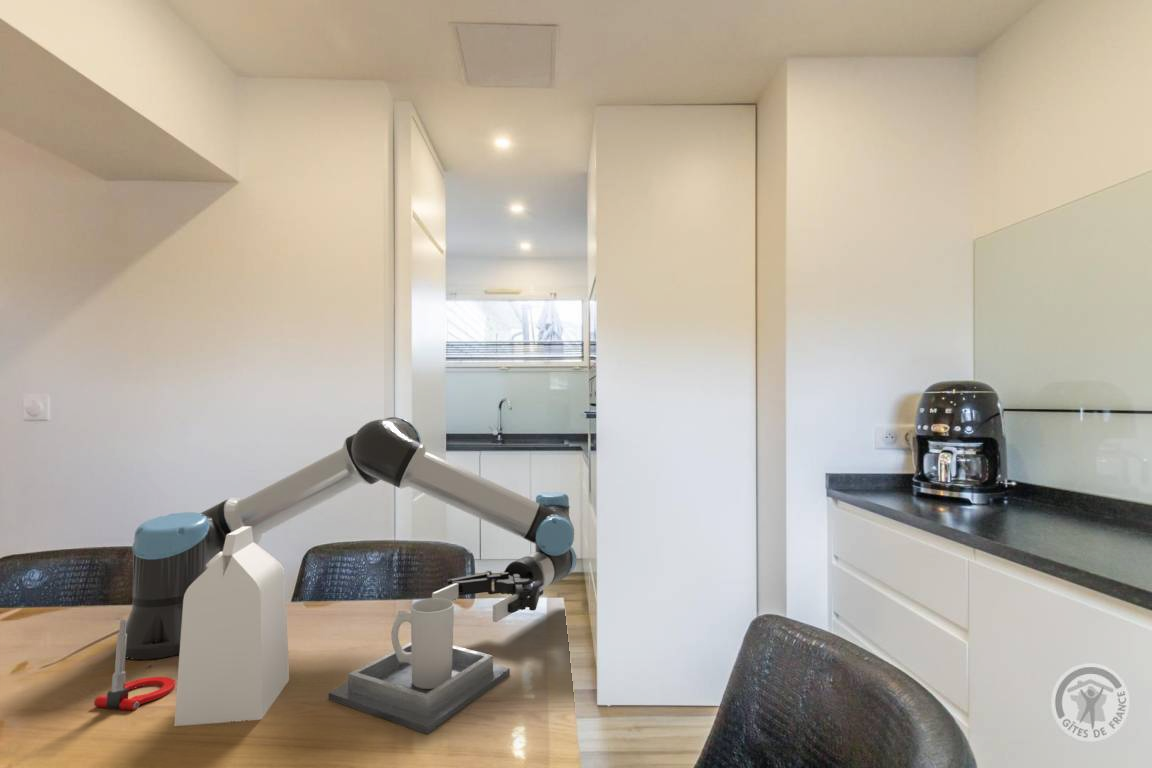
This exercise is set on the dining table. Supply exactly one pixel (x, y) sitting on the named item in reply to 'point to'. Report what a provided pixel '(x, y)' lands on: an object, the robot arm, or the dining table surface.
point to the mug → (427, 641)
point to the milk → (233, 636)
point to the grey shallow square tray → (418, 689)
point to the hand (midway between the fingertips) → (462, 607)
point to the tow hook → (120, 690)
